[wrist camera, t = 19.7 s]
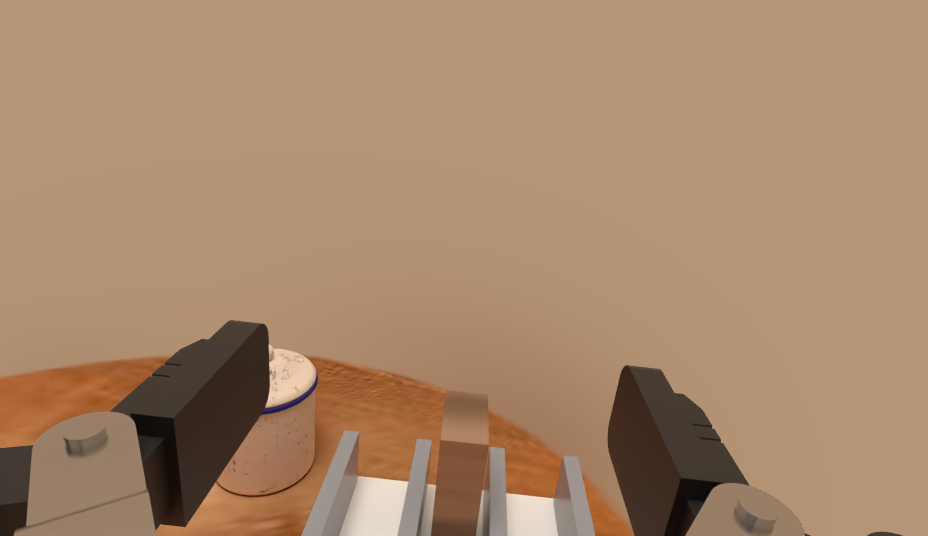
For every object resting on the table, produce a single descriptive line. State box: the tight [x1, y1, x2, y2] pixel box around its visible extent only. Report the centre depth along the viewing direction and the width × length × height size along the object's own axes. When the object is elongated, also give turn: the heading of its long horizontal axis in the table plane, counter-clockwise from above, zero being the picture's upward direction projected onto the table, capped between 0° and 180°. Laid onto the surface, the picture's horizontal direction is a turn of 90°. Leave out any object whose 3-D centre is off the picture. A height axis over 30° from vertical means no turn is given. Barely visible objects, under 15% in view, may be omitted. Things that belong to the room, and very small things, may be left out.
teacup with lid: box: [217, 345, 318, 495], centre depth 46 cm, size 12×9×12 cm
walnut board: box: [431, 390, 489, 536], centre depth 38 cm, size 6×3×12 cm, turn 178°
